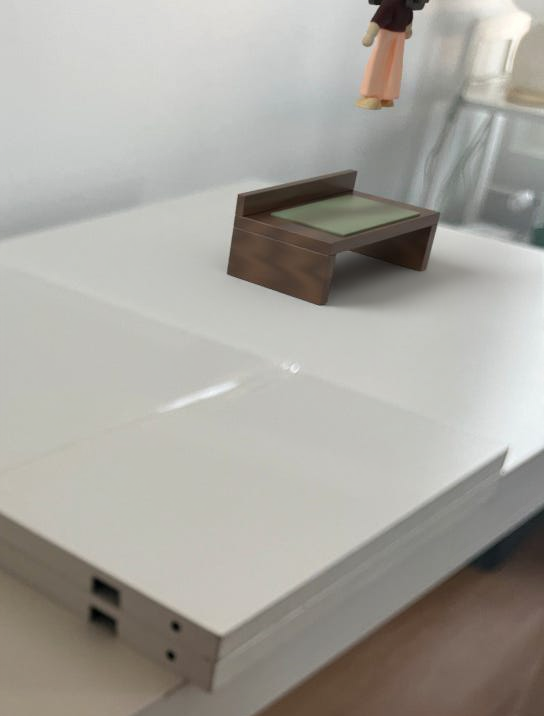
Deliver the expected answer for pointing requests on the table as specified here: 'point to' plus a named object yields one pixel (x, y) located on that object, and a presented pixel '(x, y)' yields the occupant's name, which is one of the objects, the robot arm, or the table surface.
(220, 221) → the table surface
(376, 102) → the grandmother figurine
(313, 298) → the shelf
